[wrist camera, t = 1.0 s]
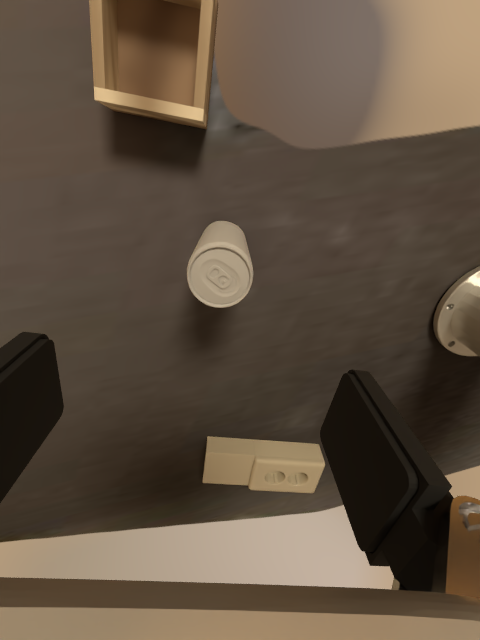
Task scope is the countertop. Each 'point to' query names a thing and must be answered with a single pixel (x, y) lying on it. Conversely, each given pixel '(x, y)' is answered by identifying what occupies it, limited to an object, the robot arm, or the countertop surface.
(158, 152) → the countertop surface
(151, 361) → the countertop surface
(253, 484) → the electrical outlet
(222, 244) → the beverage can
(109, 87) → the can holder block
